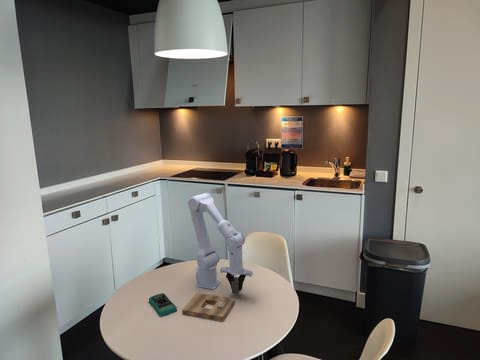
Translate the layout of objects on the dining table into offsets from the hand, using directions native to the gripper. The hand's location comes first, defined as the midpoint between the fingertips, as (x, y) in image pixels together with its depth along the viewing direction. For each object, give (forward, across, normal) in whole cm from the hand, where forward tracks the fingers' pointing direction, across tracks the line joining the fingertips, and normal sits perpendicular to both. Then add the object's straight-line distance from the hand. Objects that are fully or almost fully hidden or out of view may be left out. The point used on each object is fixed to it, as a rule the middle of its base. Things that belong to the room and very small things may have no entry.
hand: (236, 288), depth 161 cm
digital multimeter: (+4, -28, -17) cm, 33 cm away
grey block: (+2, 0, 0) cm, 2 cm away
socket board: (+3, -8, -13) cm, 16 cm away
